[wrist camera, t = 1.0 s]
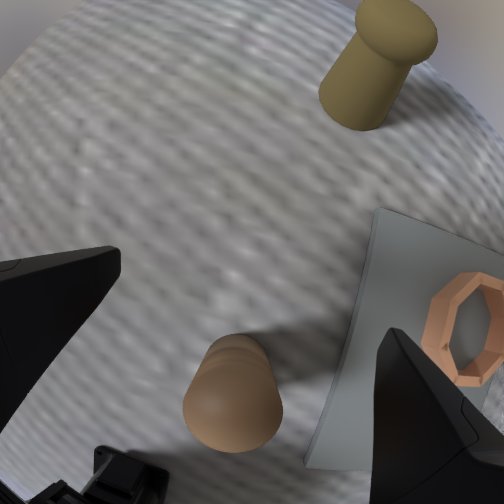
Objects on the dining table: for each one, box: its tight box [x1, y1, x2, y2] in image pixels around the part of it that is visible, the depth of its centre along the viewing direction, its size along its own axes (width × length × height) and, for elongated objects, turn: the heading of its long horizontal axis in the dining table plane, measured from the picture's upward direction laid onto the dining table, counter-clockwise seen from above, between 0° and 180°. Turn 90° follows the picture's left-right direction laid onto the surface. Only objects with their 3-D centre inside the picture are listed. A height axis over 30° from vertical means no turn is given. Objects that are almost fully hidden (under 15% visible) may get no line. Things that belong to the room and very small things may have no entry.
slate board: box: [303, 207, 504, 471], centre depth 20 cm, size 20×16×1 cm
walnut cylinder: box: [183, 334, 283, 453], centre depth 16 cm, size 4×4×8 cm
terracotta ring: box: [421, 272, 504, 387], centre depth 18 cm, size 8×8×2 cm
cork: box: [319, 0, 438, 131], centre depth 16 cm, size 6×6×11 cm
